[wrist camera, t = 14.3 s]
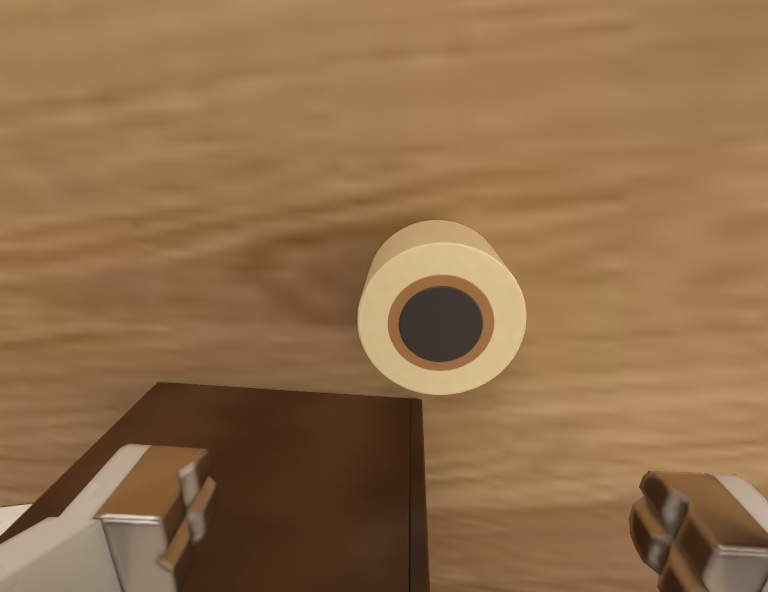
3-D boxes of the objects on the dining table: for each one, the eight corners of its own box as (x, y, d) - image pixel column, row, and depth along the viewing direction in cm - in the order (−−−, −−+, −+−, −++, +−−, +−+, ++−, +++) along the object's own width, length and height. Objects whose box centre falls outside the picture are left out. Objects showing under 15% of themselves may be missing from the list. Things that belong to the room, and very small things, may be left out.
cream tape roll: (366, 342, 20) (355, 392, 16) (368, 216, 17) (357, 238, 14) (493, 349, 19) (513, 402, 16) (512, 222, 17) (541, 247, 13)
